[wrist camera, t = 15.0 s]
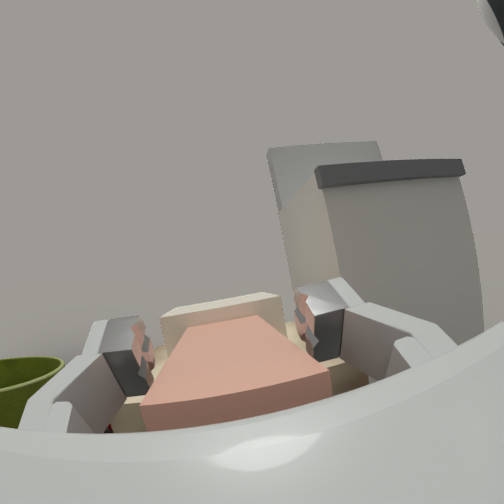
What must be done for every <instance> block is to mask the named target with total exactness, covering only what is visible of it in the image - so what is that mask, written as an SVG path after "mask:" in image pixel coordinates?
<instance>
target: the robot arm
mask: <svg viewBox="0 0 504 504" xmlns="http://www.w3.org/2000/svg"><path fill="white" fill-rule="evenodd" d="M476 4H477V6H478V9H479V11H480V14H481V16H482V17H483V19H484V21H485V22H486V24H487V25H488V27H489V28H490V30H491V31H492V32H493V33H494V34H495V36H496V37H497V38H498V39H499V40H500V41H501V43H502V44H503V46H504V0H476ZM294 301H295V303H296V305H297V306H298V307H297V308H296V310H295V311H294V312H295V313H294V315H295V324H296V329H297V332H298V335H299V337H300V339H301V340H302V341H304V342H306V351H307V353H308V355H310V356H311V357H312V358H314V359H315V360H316V361H318V362H319V363H320V362H324V361H328V360H331V359H335V358H339V357H340V359H341V360H343V361H345V362H346V363H348V364H350V365H351V366H353V367H355V368H356V369H358V370H360V371H362V372H363V373H365V374H367V375H368V376H370V377H372V378H373V379H375V380H377V382H374V383H371V384H369V385H366V386H363V387H360V388H357V389H354V390H351V391H348V392H345V393H342V394H339V395H336V396H333V397H329V398H326V399H323V400H319V401H316V402H312V403H309V404H305V405H302V406H298V407H294V408H290V409H286V410H282V411H278V412H274V413H269V414H265V415H260V416H255V417H251V418H246V419H240V420H235V421H230V422H224V423H218V424H211V425H205V426H198V427H190V428H182V429H173V430H162V431H150V432H135V433H105V434H103V433H104V431H105V430H106V428H107V427H108V425H109V424H110V423H111V421H112V420H113V418H114V417H115V415H116V414H117V412H118V411H119V410H120V408H121V407H122V405H123V404H124V402H125V401H126V400H127V398H126V397H134V396H143V395H146V394H147V392H148V390H149V389H150V387H151V386H152V384H153V382H154V377H153V375H152V372H151V371H152V370H153V369H154V367H155V357H154V350H153V347H152V343H151V341H150V338H148V337H147V336H146V335H145V325H144V322H143V320H142V318H141V317H140V316H132V317H125V318H117V319H110V320H101V321H95V322H94V323H93V324H92V327H91V330H90V333H89V335H88V338H87V341H86V344H85V347H84V350H83V353H82V355H80V356H76V357H75V358H74V359H73V360H72V361H71V362H70V363H68V364H67V365H66V366H65V367H64V368H63V369H62V370H60V371H59V372H58V373H57V374H56V375H55V376H54V377H53V378H51V379H50V380H49V381H48V382H47V383H46V384H45V385H44V386H43V387H41V388H40V389H39V390H38V391H37V392H36V393H35V394H34V395H33V396H32V397H30V398H29V399H28V401H27V404H26V406H25V409H24V412H23V415H22V418H21V421H20V424H19V427H18V429H14V428H7V427H0V504H504V320H503V321H501V322H500V323H498V324H496V325H495V326H493V327H491V328H490V329H488V330H486V331H484V332H483V333H481V334H479V335H477V336H475V337H474V338H472V339H470V340H468V341H466V342H464V343H462V344H460V345H457V344H456V343H455V342H454V341H453V340H452V339H451V338H450V337H449V336H448V335H447V334H446V333H445V332H444V331H443V330H442V329H441V328H440V327H439V326H438V325H437V324H435V323H432V322H429V321H426V320H423V319H419V318H416V317H413V316H410V315H407V314H404V313H401V312H398V311H395V310H392V309H389V308H386V307H383V306H380V305H377V304H374V303H371V302H368V303H365V302H364V301H363V300H362V299H361V298H360V296H359V295H358V294H357V293H356V292H355V291H354V290H353V289H352V288H351V287H350V285H349V284H348V283H347V282H346V281H345V280H344V279H343V278H342V277H337V278H333V279H329V280H326V281H322V282H318V283H314V284H310V285H306V286H301V287H297V288H294Z"/></svg>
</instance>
